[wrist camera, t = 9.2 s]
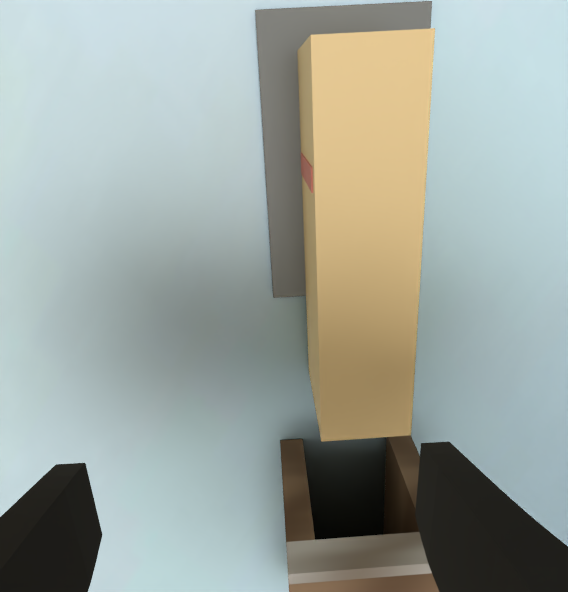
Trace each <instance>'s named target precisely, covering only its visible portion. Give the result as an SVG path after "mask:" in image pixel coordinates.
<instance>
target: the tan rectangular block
mask: <svg viewBox="0 0 568 592" xmlns="http://www.w3.org/2000/svg"><path fill="white" fill-rule="evenodd" d="M434 35H435V28H433V29H413V30H394V31H374V32H355V33H335V34H316V35H310V36H309V37H308V39H307V40H306V41H305V42H304V43H303V45H302V46H301V47H300V48H299V49H298V51H297V54H298V82H299V110H300V138H301V174H302V195H303V223H304V251H305V279H306V307H307V335H308V363H309V375H310V381H311V386H312V392H313V398H314V403H315V409H316V415H317V420H318V426H319V431H320V437H321V442H323V441H337V440H352V439H366V438H380V437H394V436H408V435H411V426H412V409H413V392H414V375H415V358H416V341H417V324H418V307H419V290H420V273H421V256H422V239H423V222H424V205H425V188H426V171H427V154H428V137H429V120H430V103H431V86H432V69H433V52H434Z"/></svg>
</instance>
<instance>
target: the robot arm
mask: <svg viewBox="0 0 568 592" xmlns="http://www.w3.org/2000/svg"><path fill="white" fill-rule="evenodd" d="M415 517H416V521H417V525H418V529H419V532H420V536H421V540H422V544H423V547H424V551H425V554H426V558H427V561H428V564H429V567H430V569H431V572H432V575H433V577H434V580H435V582H436V585H437V587H438V590H439V592H568V546H566V545H565V544H564V543H563V542H561V541H560V540H559V539H558V538H556V537H555V536H554V535H553V534H551V533H550V532H549V531H548V530H546V529H545V528H544V527H543V526H542V525H540V524H539V523H538V522H537V521H536V520H535V519H533V518H532V517H531V516H530V515H529V514H528V513H526V512H525V511H524V510H523V509H522V508H521V507H520V506H518V505H517V504H516V503H515V502H514V501H513V500H512V499H510V498H509V497H508V496H507V495H506V494H505V493H504V492H503V491H502V490H500V489H499V488H498V487H497V486H496V485H495V484H494V483H493V482H492V481H491V480H490V479H488V478H487V477H486V476H485V475H484V474H483V473H482V472H481V471H480V470H479V469H478V468H477V467H476V466H475V465H473V464H472V463H471V462H470V461H469V460H468V459H467V458H466V457H465V456H464V455H463V454H462V453H461V452H460V451H459V450H457V449H456V448H455V447H454V446H453V445H452V444H451V443H450V442H437V443H421V451H420V463H419V474H418V486H417V498H416V509H415ZM101 538H102V532H101V528H100V524H99V519H98V515H97V511H96V507H95V502H94V498H93V494H92V490H91V486H90V481H89V477H88V473H87V469H86V464H85V463H76V464H58V465H55V466H54V467H53V468H52V469H51V470H50V471H49V472H48V473H46V474H45V475H44V476H43V477H42V478H41V479H40V480H39V481H38V482H37V483H36V484H35V485H34V486H33V487H32V488H31V489H30V490H29V491H27V492H26V493H25V494H24V495H23V496H22V497H21V498H20V499H19V500H18V501H17V502H16V503H15V504H14V505H13V506H12V507H11V508H10V509H9V510H8V511H7V512H5V513H4V514H3V515H2V516H1V517H0V592H88V589H89V586H90V583H91V579H92V575H93V571H94V567H95V563H96V559H97V555H98V550H99V546H100V542H101Z"/></svg>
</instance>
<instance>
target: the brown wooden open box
mask: <svg viewBox="0 0 568 592" xmlns="http://www.w3.org/2000/svg"><path fill="white" fill-rule="evenodd" d="M280 445H281V462H282V479H283V496H284V512H285V529H286V547H287V564H288V580H289V592H439V590H438V587H437V585H436V582H435V580H434V577H433V575H432V572H431V569H430V567H429V564H428V561H427V558H426V554H425V551H424V547H423V544H422V540H421V536H420V532H419V529H418V525H417V521H416V517H415V509H416V498H417V486H418V474H419V463H420V456H419V453H418V451H417V449H416V447H415V444H414V442H413V440H412V438H411V435H408V436H394V437H386V465H385V493H384V521H383V535H372V536H359V537H346V538H332V539H319V540H315V535H314V527H313V519H312V511H311V503H310V495H309V487H308V479H307V471H306V463H305V455H304V447H303V439H293V440H280Z"/></svg>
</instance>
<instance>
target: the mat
mask: <svg viewBox="0 0 568 592" xmlns="http://www.w3.org/2000/svg"><path fill="white" fill-rule="evenodd" d="M431 9H432V1H423V2H403V3H383V4H363V5H343V6H323V7H303V8H283V9H263V10H255V13H256V29H257V45H258V60H259V76H260V92H261V108H262V124H263V140H264V156H265V171H266V187H267V203H268V219H269V235H270V251H271V267H272V283H273V298H277V297H293V296H306V279H305V251H304V223H303V195H302V174H301V138H300V110H299V82H298V54H297V51H298V49H299V48H300V47H301V46H302V45H303V43H304V42H305V41H306V40H307V39H308V37H309V36H310V35H316V34H335V33H355V32H374V31H394V30H413V29H430V27H431Z"/></svg>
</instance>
